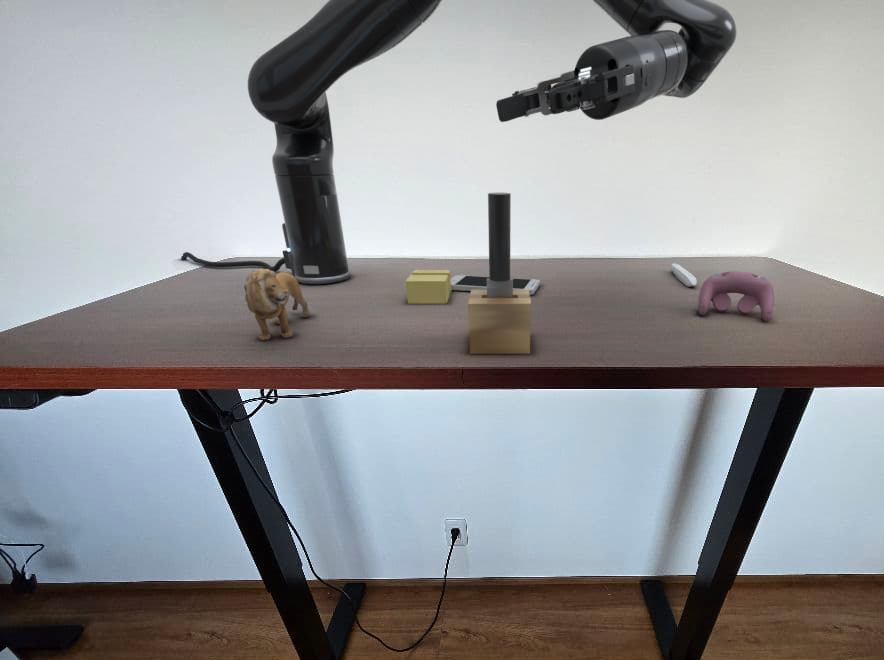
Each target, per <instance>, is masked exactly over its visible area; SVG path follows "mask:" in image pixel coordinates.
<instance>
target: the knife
mask: <svg viewBox="0 0 884 660" xmlns="http://www.w3.org/2000/svg"><path fill="white" fill-rule="evenodd" d="M511 197H512V195H511V192H488V193H487V208H488V209H487V211H488V212H487V215H488V216H487V218H488V219H487V220H488V222H487V224H488V273H489V274H488V277H489V279H487V298H513V279H510V278H511V225H512V224H511V221H512V220H511V219H512V217H511V211H512V210H511V209H512V207H511V201H512V200H511V199H512V198H511Z"/></svg>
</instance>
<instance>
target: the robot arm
mask: <svg viewBox="0 0 884 660" xmlns="http://www.w3.org/2000/svg"><path fill="white" fill-rule="evenodd" d="M591 1H592V2H593V3H594V4H595V5H596V6H597V7H598V8H599V9H601V10H602V11H603V12H604V13H605V14H606V15H607V16H609V18H610V19H612V21H614V23H616V24H617V25H618V26H619V27H620V28H621V29H622V30H624V32H626V33H627V34H628V36H624V37H621V38H617V39H614V40H609V41H606V42H602V43H598V44H594V45H591V46H589V47H588V48H586V49H585V50H584V51H583V52H582V53H581V54H580V55H579V57H578V60H577V61H576V63H575V67H574V70H573V69H572V70H569V71H566V72H562V73H560V75H558V76H557V77H556V76H555V77H553V78H549V79H545V80H541V81H539V82H537V84H536V86H534V87H530V88H527V89H522V90H516V91H514V93H511V96H508V97H505V98H501V99H498V100H497V101H496V102H495V103H496V104H495V106H496V111H497V117H498V120H499V122H500V123H506V122H509V121H512V120H515V119H518V118H522V117H524V118H527V117H528V118H529V116H531V115H534V114H538V113H541V115H543V116H549V115H558V114H562V113H565V112H566V113H570V112H574V111H578V110H581V112H582V113H583V114H584V115H585V116H586V117H588V118H589V119H592V120H596V121H602V120H605V119H608V118H611V117H614V116H616V115H618V114H621V113H624V112H626V111H630V110H633V109H635V108H637V107H639V106H641V105H643V104H645V103H646V102H648V101H651V100H652V99H655V98H658V97H661V96H664V97H671V98H676V99H677V98H678V99H686V98H689V97H690V96H692V95H695V93H696V92H697V91H699V90H700V89H701V88H702V87H703V85H705V83H706V81H707V80H708V79H709V78H710V76H711V75H712V74H713V72H714V71H715V70H716V69H717V68H718V66H719V65H720V64H721V62H722V61H723V59H724V58H725V57H726V55H727V54H728V53H729V52H730V50H732V48H733V46H734V44H735V42H736V39H737V34H738V33H737V26H736V22H735V20H734V17H733V15H732V13H730V12H729V11H728V10H727V9H726V7H723V6H722V5H719V4H717V3H716V2H712V1H710V0H591ZM442 2H443V0H328V1H327V2H326V3H325V4H324V5H322V7H321V8H320V9H319V10H318V11H317V12H316V13H315V14H314V15H313V16H312V17H311V18H310V19H309V20H308V21H307V22H306V23H304V24H303V25H302V26H301V27H300V28H298V29H297V30H295V31H294V32H292V33H291V34H290V35H288V36H287V37H286V38H284V39H283V40H281V41H280V42H279V43H277V44H276V45H274V46H273V47H271V48H269V50H267V51H265V52H264V53H262V55H260V56H259V57H258V58H257V59H256V60H255V61H254V63H253V64H252V66H251V68H250V70H249V73H248V77H247V93H248V97H249V100H250V102H251V104H252V106H253V108H254V109H255V110H256V111H257V113H258V114H259V115H260V116H262V117H263V118H264V119H265V120H268V121H269V122H271V123H273V125H274V131H275V136H276V147H275V151H274V153H273V154H272V157H271V162H272V168H273V174H274V178H275V183H276V188H277V193H278V196H279V203H280V206H281V211H282V217H283V221H284V222H283V223H282V224H281V228H282V232H283V238H284V242H285V246H286V247H285V248H286V249H285V250H282V258H280V259H279V260H277V262H276V263H275V264H274V265H273V266H272V265H270V264H269V263H268V262H265V261H262V260H261V261H259V260H242V261H241V260H240V261H211V260H210V261H209V260H205V259H203V258H198V257H196V256H195V255H194V254H192V253H191V252H188V251H186V252H183V253H182V255H183V256H182V255H181V257H180V261H187V258H188V259H190V260H191V261H192V262H194V263H197V264H200V265H203V266H206V267H212V268H238V267H239V268H240V267H263V269H269V270H270V271H273V272H275V273H276V272H278V271H279V270H280V268H281V267H282V266H283V265H284V266H285V269H289V270H291V275H293V276H294V277H295V278H296V280H297V282H298V284H299V283H300V284H305V285H324V284H325V285H327V284H333V283H334V284H335V283H338V282H339V283H340V282H343V281H346V280H348V279H349V278H350V277H351V273H350V269H349V265H348V264H349V263H348V257H347V249H346V245H345V244H346V243H345V238H344V237H345V236H344V230H343V225H342V219H341V218H342V217H341V211H340V205H339V199H338V192H337V187H336V180H335V179H336V178H335V172H334V164H333V163H334V155H335V153H334V151H335V148H334V147H335V146H334V138H333V131H332V122H331V121H332V120H331V115H330V107H329V101H328V96H327V93H326V92H327V91H328V90H329V89H330V88H331V87H332V86H333V85H334V84H335V83H336V82H337V81H338V80H340V79H341V78H342V77H343V76H344V75H346V74H347V73H348V72H350V71H352V70H354V69H355V68H357V67H359V66H362V65H363V64H365V63H368V62H370V61H372V60H375V59H376V58H378V57H380V56H382V55H383V54H386V53H387V52H389V51H391V50H393V49H394V48H395V47H397V46H399V45H400V44H402V43H403V42H404V41H405V40H406V39H408V38H409V37H410V36H412V34H413V33H414V32H416V31H417V30H419V28H420V27H422V25H423V24H425V23H426V22H427V21H428V20H429V19H430V18H431V17H432V16H433V14H434V13H435V12H436V11H437V9H438V8H439V7H440V6H441V3H442ZM666 24H674V25H678V26H679V27H681V28H680V29H679V30H678V31H675V30H671V29H663V28H664V27H665V25H666Z"/></svg>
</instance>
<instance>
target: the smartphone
mask: <svg viewBox="0 0 884 660" xmlns="http://www.w3.org/2000/svg"><path fill="white" fill-rule="evenodd" d="M487 279H489V276H480V275H479V276H478V275H464V274H463V275H462V274H456V275H454V276H452V277H451V291H465V292H471V290H487ZM510 279H513V290H529V294H530V296H531V295H534V294H535V292H536V291H537V289H538V288H539V286H541V285H540V283H541V280H540V279H535V278H533V279H532V278H517V277H516V278H515V277H510Z"/></svg>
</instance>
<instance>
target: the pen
mask: <svg viewBox="0 0 884 660" xmlns="http://www.w3.org/2000/svg"><path fill="white" fill-rule="evenodd" d="M670 267H671V268H670V269H671V272H672V273H673V275H674V276H675V278H676V279H677V280H679V281H680V282H681V283H682V284H684V285H685V286H686V287H696V285H697V284H698V283H697V277H695V275H693V274H692V273H690V271H688V270H687V269H685V268H684V267H683V266H682V265H680V264H678V263H672V264H671V266H670Z"/></svg>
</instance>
